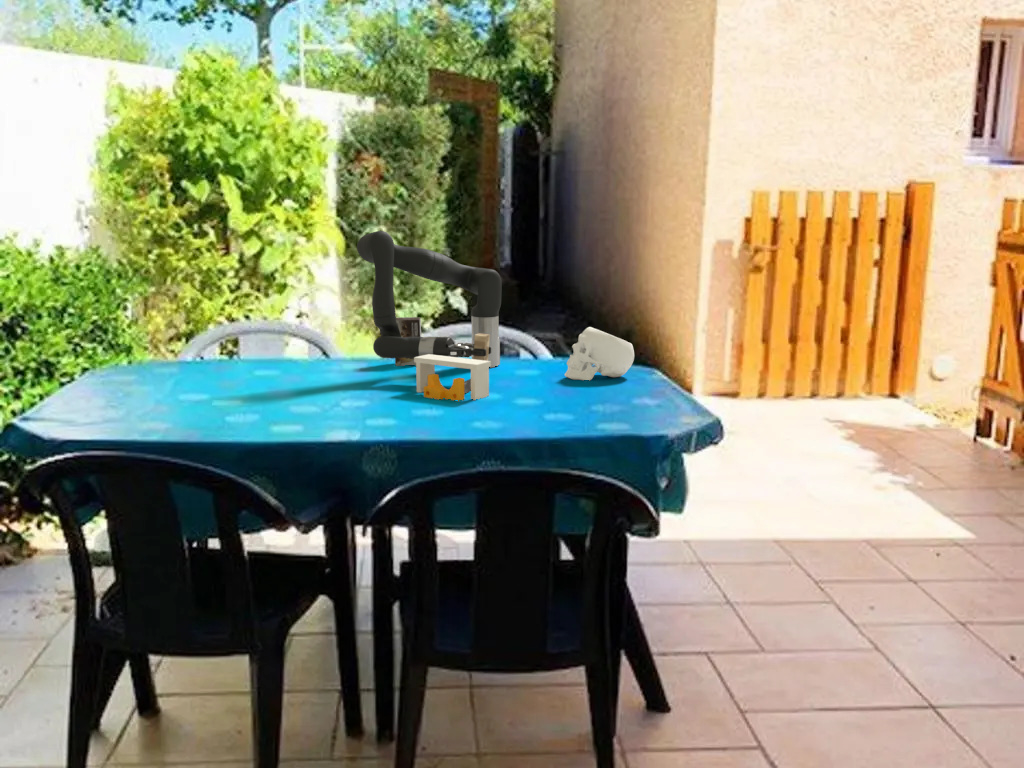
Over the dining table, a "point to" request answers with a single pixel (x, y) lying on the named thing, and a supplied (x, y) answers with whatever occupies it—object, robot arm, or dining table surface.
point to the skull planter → (599, 355)
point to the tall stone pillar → (479, 343)
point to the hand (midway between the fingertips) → (488, 351)
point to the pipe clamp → (444, 389)
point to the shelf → (478, 367)
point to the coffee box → (408, 335)
